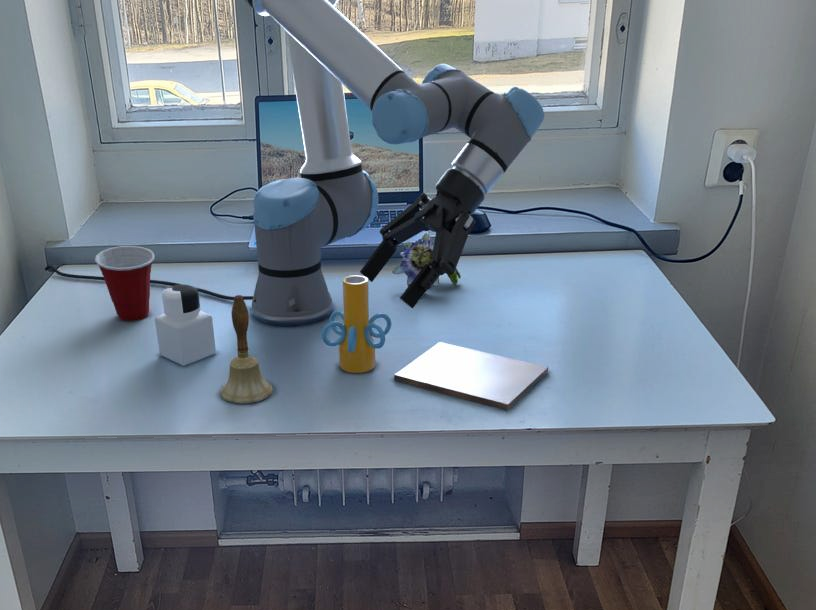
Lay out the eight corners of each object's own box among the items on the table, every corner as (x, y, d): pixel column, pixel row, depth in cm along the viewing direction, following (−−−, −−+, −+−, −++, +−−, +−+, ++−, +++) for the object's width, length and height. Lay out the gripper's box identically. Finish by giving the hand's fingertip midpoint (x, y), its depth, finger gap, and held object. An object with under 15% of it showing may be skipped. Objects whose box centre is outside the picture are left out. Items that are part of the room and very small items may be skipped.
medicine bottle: (192, 342, 163) (184, 277, 157) (217, 353, 159) (209, 287, 152) (159, 355, 159) (149, 289, 153) (183, 367, 155) (174, 299, 148)
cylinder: (382, 384, 147) (382, 295, 139) (319, 380, 149) (315, 292, 140) (394, 352, 157) (394, 267, 149) (334, 349, 159) (331, 265, 151)
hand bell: (224, 381, 150) (214, 287, 141) (275, 380, 149) (267, 286, 141) (217, 404, 143) (206, 308, 134) (270, 403, 142) (262, 306, 134)
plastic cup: (123, 332, 168) (113, 269, 162) (95, 316, 175) (83, 255, 169) (173, 315, 174) (165, 254, 168) (144, 301, 181) (135, 241, 175)
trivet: (394, 380, 148) (394, 374, 147) (439, 347, 158) (439, 341, 157) (507, 410, 138) (508, 404, 137) (548, 372, 148) (548, 367, 148)
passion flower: (420, 316, 184) (385, 272, 178) (422, 287, 192) (389, 244, 186) (468, 288, 178) (433, 242, 172) (468, 260, 186) (435, 215, 180)
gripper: (527, 214, 138) (439, 328, 141) (440, 179, 157) (364, 279, 160) (500, 184, 133) (409, 301, 136) (414, 151, 152) (336, 254, 155)
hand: (385, 289), depth 148 cm, fingers open, 13 cm apart
